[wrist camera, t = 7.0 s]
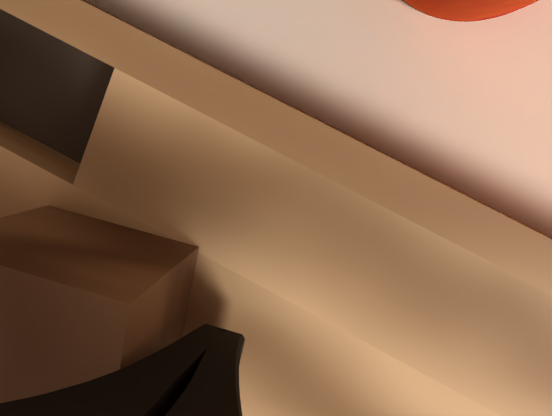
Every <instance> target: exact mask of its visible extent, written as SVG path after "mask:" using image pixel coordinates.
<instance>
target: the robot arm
mask: <svg viewBox="0 0 552 416" xmlns="http://www.w3.org/2000/svg"><path fill="white" fill-rule="evenodd" d="M244 342H245V338H244V336H243V335H242V334H240V333H236V332H233V331H229V330H226V329H223V328H219V327H216V326H213V325H209V324H204V325H202V326H200V327H198V328H197V329H195V330H193V331H192V332H190V333H188V334H187V335H185V336H183V337H182V338H180V339H178V340H177V341H175V342H173V343H171V344H170V345H168V346H166V347H164V348H162V349H161V350H159V351H157V352H155V353H153V354H151V355H149V356H147V357H145V358H143V359H141V360H139V361H137V362H135V363H133V364H131V365H129V366H126V367H124V368H122V369H119V370H117V371H115V372H112V373H109V374H107V375H104V376H101V377H99V378H96V379H93V380H90V381H87V382H84V383H80V384H77V385H74V386H70V387H67V388H63V389H60V390H57V391H53V392H50V393H46V394H41V395H37V396H33V397H29V398H24V399H19V400H14V401H9V402H4V403H0V416H242V409H241V400H240V389H239V364H240V359H241V355H242V351H243V346H244Z"/></svg>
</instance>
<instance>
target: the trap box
mask: <svg viewBox="0 0 552 416" xmlns="http://www.w3.org/2000/svg"><path fill="white" fill-rule="evenodd" d="M47 205H50V206H53V207H57V208H60V209H64V210H68V211H71V212H75V213H79V214H82V215H86V216H89V217H93V218H97V219H100V220H104V221H108V222H111V223H115V224H118V225H122V226H126V227H129V228H133V229H136V230H140V231H144V232H147V233H151V234H155V235H158V236H162V237H165V238H169V239H173V240H176V241H180V242H184V243H187V244H191V245H194V246H198V247H199V250H198V255H197V261H196V266H195V271H194V276H193V282H192V287H191V292H190V297H189V303H188V308H187V313H186V318H185V324H184V329H183V334H182V337H183V336H185V335H187V334H188V333H190V332H192V331H193V330H195V329H197V328H198V327H200V326H202V325H204V324H209V325H213V326H216V327H219V328H223V329H226V330H229V331H233V332H236V333H240V334H242V335H243V336H244V338H245V342H244V346H243V351H242V355H241V359H240V364H239V389H240V400H241V409H242V416H552V239H551V238H549V237H547V236H545V235H543V234H541V233H539V232H537V231H535V230H533V229H531V228H529V227H527V226H525V225H523V224H521V223H520V222H518V221H516V220H514V219H512V218H510V217H508V216H506V215H504V214H502V213H500V212H498V211H496V210H494V209H492V208H490V207H488V206H486V205H484V204H482V203H480V202H478V201H476V200H474V199H472V198H470V197H468V196H466V195H464V194H462V193H461V192H459V191H457V190H455V189H453V188H451V187H449V186H447V185H445V184H443V183H441V182H439V181H437V180H435V179H433V178H431V177H429V176H427V175H425V174H423V173H421V172H419V171H417V170H415V169H413V168H411V167H409V166H407V165H405V164H403V163H402V162H400V161H398V160H396V159H394V158H392V157H390V156H388V155H386V154H384V153H382V152H380V151H378V150H376V149H374V148H372V147H370V146H368V145H366V144H364V143H362V142H360V141H358V140H356V139H354V138H352V137H350V136H348V135H346V134H344V133H343V132H341V131H339V130H337V129H335V128H333V127H331V126H329V125H327V124H325V123H323V122H321V121H319V120H317V119H315V118H313V117H311V116H309V115H307V114H305V113H303V112H301V111H299V110H297V109H295V108H293V107H291V106H289V105H287V104H285V103H284V102H282V101H280V100H278V99H276V98H274V97H272V96H270V95H268V94H266V93H264V92H262V91H260V90H258V89H256V88H254V87H252V86H250V85H248V84H246V83H244V82H242V81H240V80H238V79H236V78H234V77H232V76H230V75H228V74H226V73H225V72H223V71H221V70H219V69H217V68H215V67H213V66H211V65H209V64H207V63H205V62H203V61H201V60H199V59H197V58H195V57H193V56H191V55H189V54H187V53H185V52H183V51H181V50H179V49H177V48H175V47H173V46H171V45H169V44H167V43H166V42H164V41H162V40H160V39H158V38H156V37H154V36H152V35H150V34H148V33H146V32H144V31H142V30H140V29H138V28H136V27H134V26H132V25H130V24H128V23H126V22H124V21H122V20H120V19H118V18H116V17H114V16H112V15H110V14H108V13H107V12H105V11H103V10H101V9H99V8H97V7H95V6H93V5H91V4H89V3H87V2H85V1H83V0H0V218H1V217H5V216H8V215H12V214H16V213H20V212H24V211H28V210H32V209H36V208H39V207H43V206H47Z"/></svg>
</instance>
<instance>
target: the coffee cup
mask: <svg viewBox="0 0 552 416" xmlns="http://www.w3.org/2000/svg"><path fill="white" fill-rule="evenodd" d="M404 1H405V2H406V3H408V4H409V5H411V6H412V7H414V8H415V9H417V10H419V11H421V12H423V13H425V14H427V15H430V16H433V17H436V18H440V19H444V20H450V21H479V20H485V19H490V18H495V17H499V16H502V15H505V14H508V13H511V12H513V11H516V10H518V9H521V8H523V7H526V6H528V5H530V4H532V3H534V2H536V1H538V0H404Z"/></svg>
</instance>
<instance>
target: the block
mask: <svg viewBox="0 0 552 416" xmlns="http://www.w3.org/2000/svg"><path fill="white" fill-rule="evenodd" d="M198 250H199V247H198V246H194V245H191V244H187V243H184V242H180V241H176V240H173V239H169V238H165V237H162V236H158V235H155V234H151V233H147V232H144V231H140V230H136V229H133V228H129V227H126V226H122V225H118V224H115V223H111V222H108V221H104V220H100V219H97V218H93V217H89V216H86V215H82V214H79V213H75V212H71V211H68V210H64V209H60V208H57V207H53V206H50V205H47V206H43V207H39V208H36V209H32V210H28V211H24V212H20V213H16V214H12V215H8V216H5V217H1V218H0V403H4V402H9V401H14V400H19V399H24V398H29V397H33V396H37V395H41V394H46V393H50V392H53V391H57V390H60V389H63V388H67V387H70V386H74V385H77V384H80V383H84V382H87V381H90V380H93V379H96V378H99V377H101V376H104V375H107V374H109V373H112V372H115V371H117V370H119V369H122V368H124V367H126V366H129V365H131V364H133V363H135V362H137V361H139V360H141V359H143V358H145V357H147V356H149V355H151V354H153V353H155V352H157V351H159V350H161V349H162V348H164V347H166V346H168V345H170V344H171V343H173V342H175V341H177V340H178V339H180V338H182V334H183V329H184V324H185V318H186V313H187V308H188V303H189V297H190V292H191V287H192V282H193V276H194V271H195V266H196V261H197V255H198Z"/></svg>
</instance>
